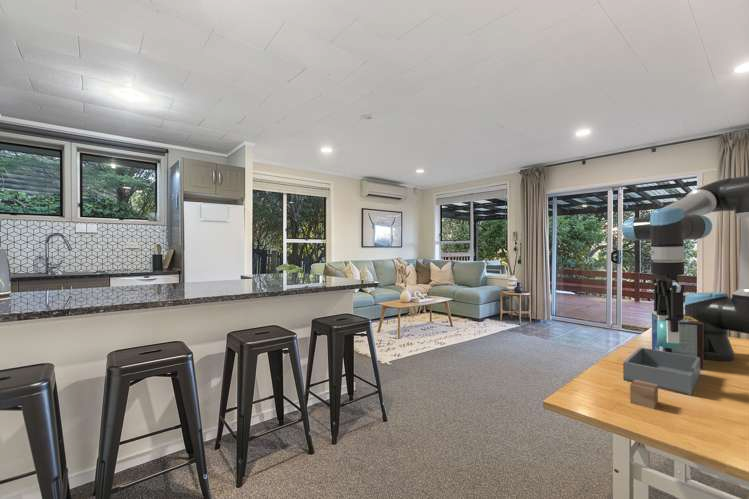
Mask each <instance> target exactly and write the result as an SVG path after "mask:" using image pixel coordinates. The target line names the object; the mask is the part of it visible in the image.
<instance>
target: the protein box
mask: <svg viewBox="0 0 749 499" xmlns="http://www.w3.org/2000/svg"><path fill="white" fill-rule="evenodd" d="M666 316H668V315H666ZM657 321H658V315H657V313H656V312H651V349H653V350H659V351H665V352H670V353H676V354H682V355H688V356H694V357H699V358H700V370H704V359H703V323H702V322H700V321H698V320H696V319H694V318H692V317H690V316H688V315H685V313H684V320H680V321H679V348H676V349H672V348H664V347H661V346H658V345H657Z"/></svg>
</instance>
